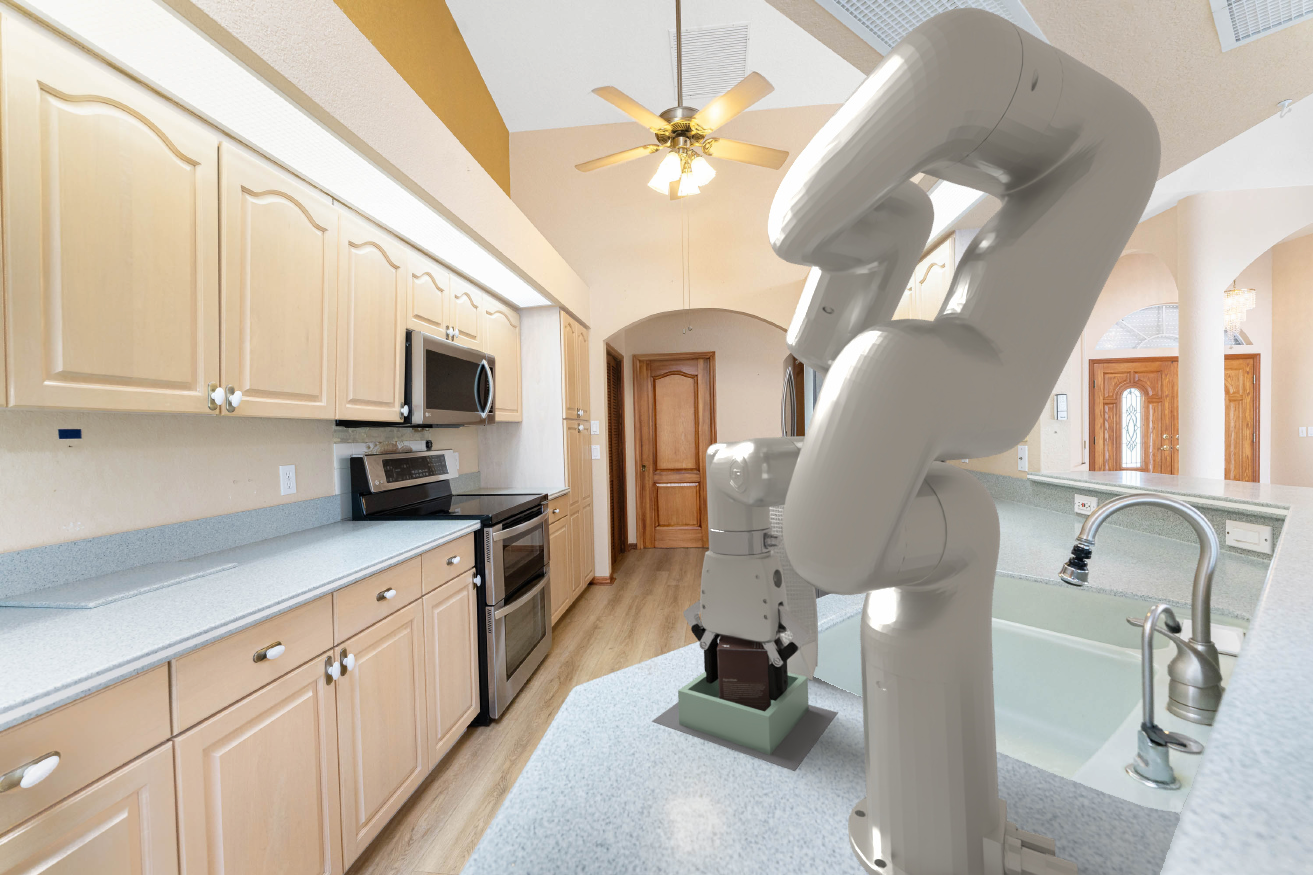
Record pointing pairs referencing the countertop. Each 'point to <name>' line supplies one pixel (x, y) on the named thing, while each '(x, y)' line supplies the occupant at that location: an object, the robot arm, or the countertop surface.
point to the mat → (785, 753)
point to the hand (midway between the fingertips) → (745, 686)
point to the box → (743, 672)
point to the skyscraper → (797, 605)
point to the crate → (743, 714)
